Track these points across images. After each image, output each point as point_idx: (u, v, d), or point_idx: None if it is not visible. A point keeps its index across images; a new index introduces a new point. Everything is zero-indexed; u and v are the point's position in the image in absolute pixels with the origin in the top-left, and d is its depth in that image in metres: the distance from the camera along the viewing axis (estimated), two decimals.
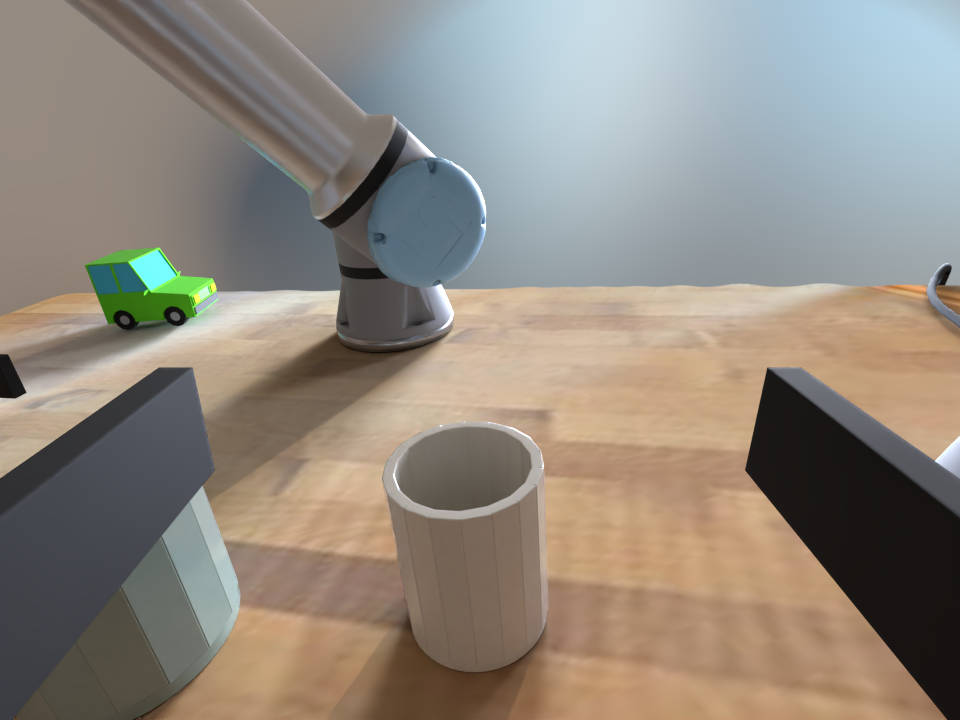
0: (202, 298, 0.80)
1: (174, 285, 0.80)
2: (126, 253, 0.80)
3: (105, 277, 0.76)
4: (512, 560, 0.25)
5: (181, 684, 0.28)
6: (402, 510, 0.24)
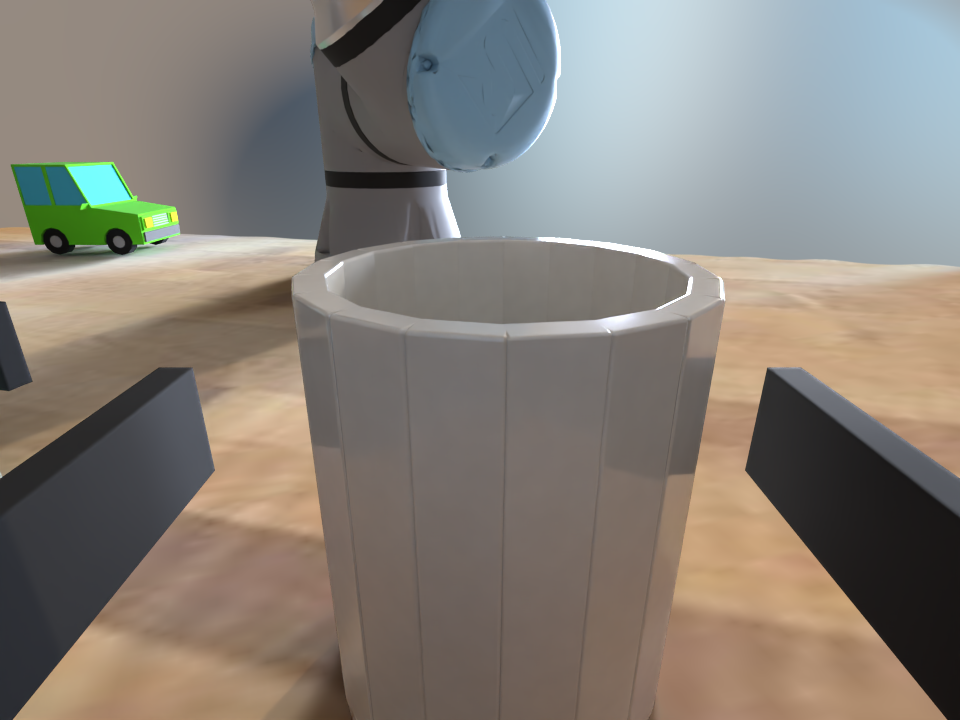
0: (157, 225, 0.65)
1: (123, 206, 0.65)
2: None
3: (35, 182, 0.60)
4: (637, 514, 0.09)
5: None
6: (325, 319, 0.08)
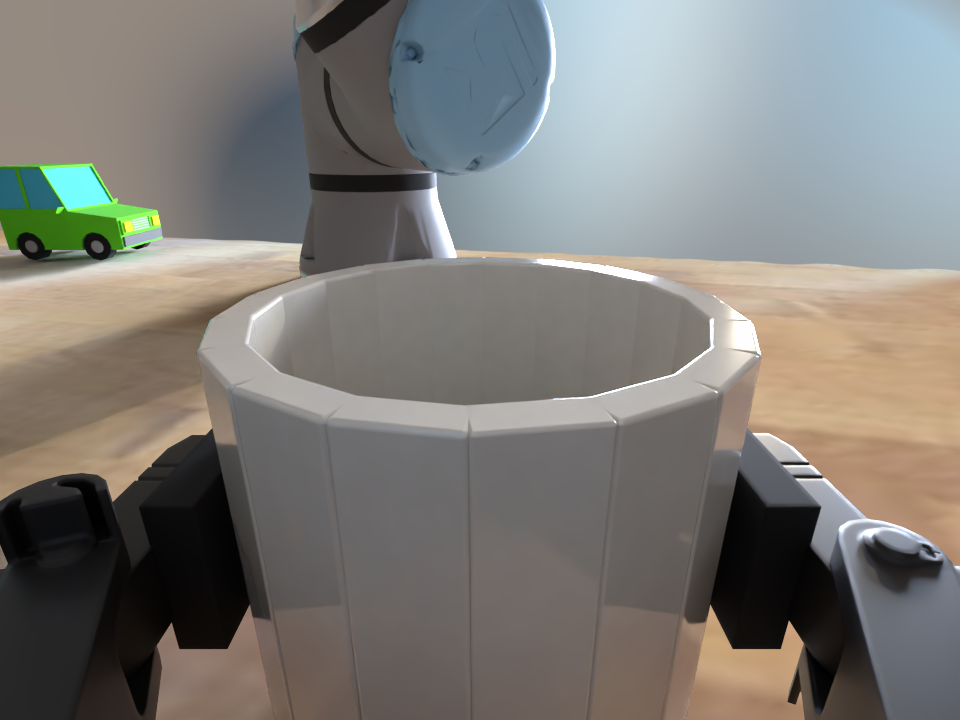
0: (137, 229, 0.63)
1: (102, 209, 0.62)
2: (46, 164, 0.62)
3: (9, 185, 0.58)
4: (649, 638, 0.06)
5: None
6: (226, 393, 0.06)
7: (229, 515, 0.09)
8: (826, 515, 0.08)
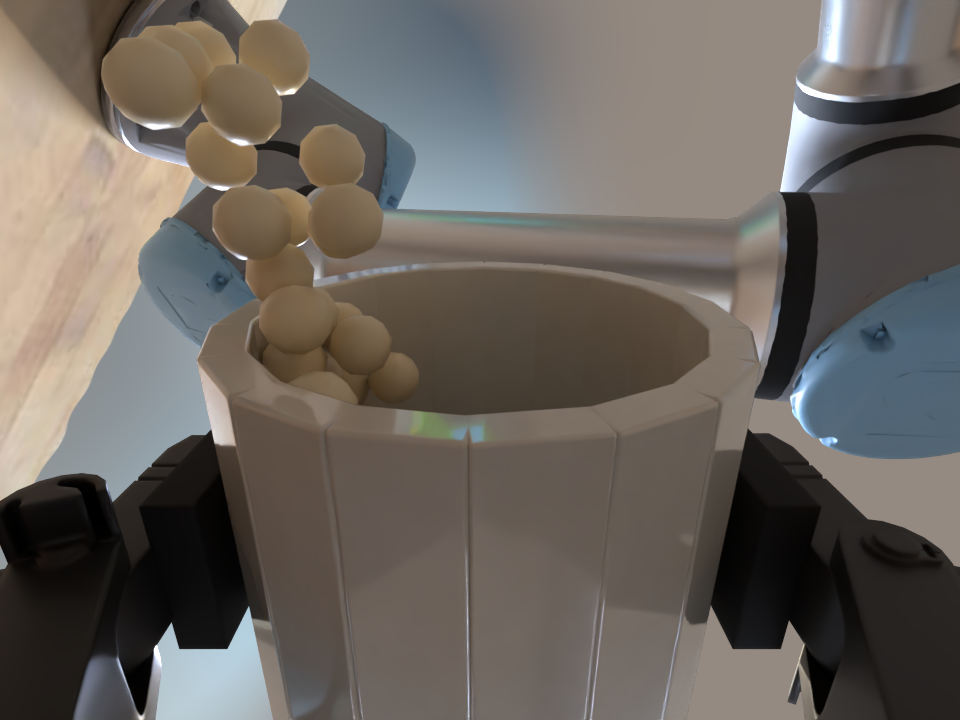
0: None
1: None
2: None
3: None
4: (648, 646, 0.07)
5: None
6: (227, 402, 0.06)
7: (229, 515, 0.09)
8: (826, 515, 0.08)
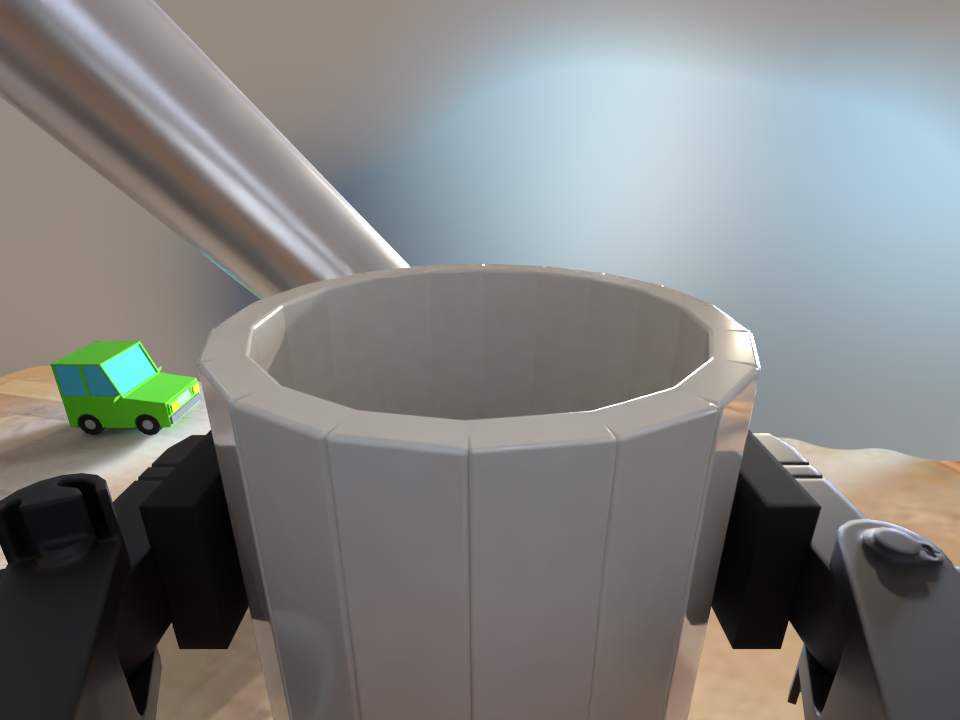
0: (181, 404, 0.71)
1: (151, 387, 0.71)
2: (101, 347, 0.71)
3: (73, 378, 0.67)
4: (649, 650, 0.07)
5: None
6: (227, 407, 0.06)
7: (229, 515, 0.09)
8: (826, 515, 0.08)
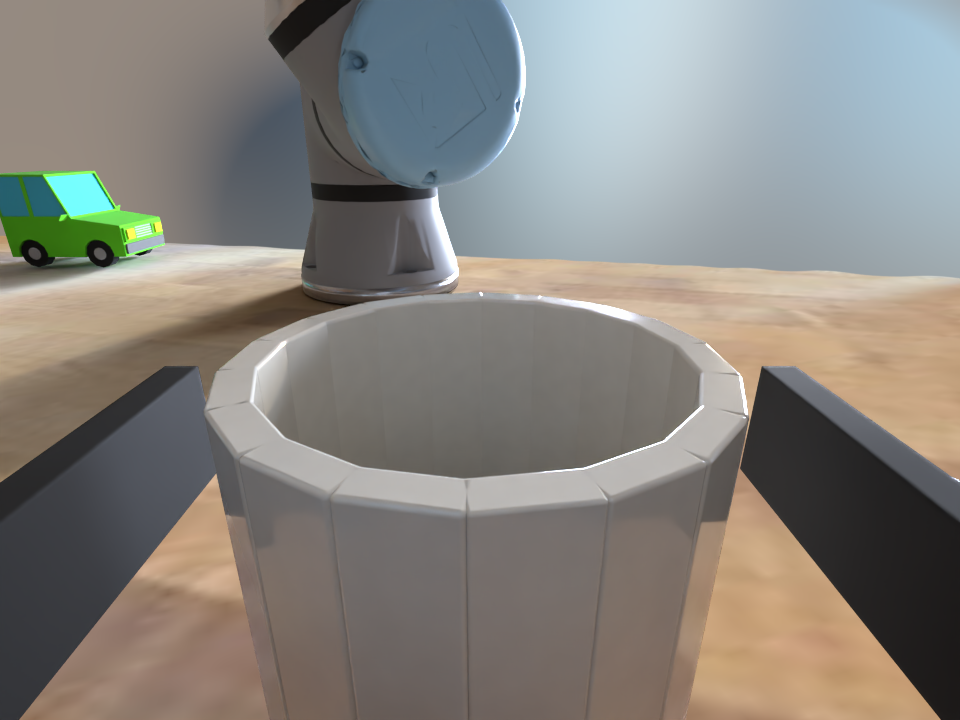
0: (140, 236, 0.63)
1: (105, 216, 0.63)
2: None
3: (12, 193, 0.58)
4: (641, 690, 0.07)
5: None
6: (234, 461, 0.06)
7: (2, 586, 0.07)
8: None
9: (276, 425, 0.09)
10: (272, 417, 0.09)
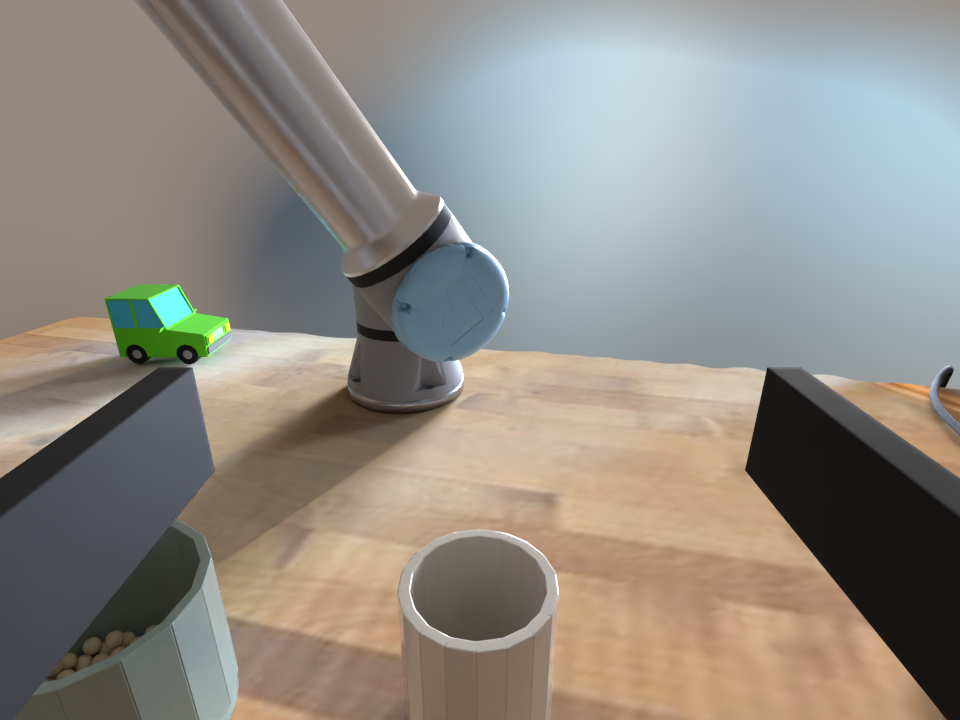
0: (216, 338, 0.81)
1: (189, 323, 0.81)
2: (146, 288, 0.81)
3: (123, 311, 0.77)
4: (522, 690, 0.25)
5: None
6: (418, 634, 0.24)
7: None
8: None
9: None
10: None
